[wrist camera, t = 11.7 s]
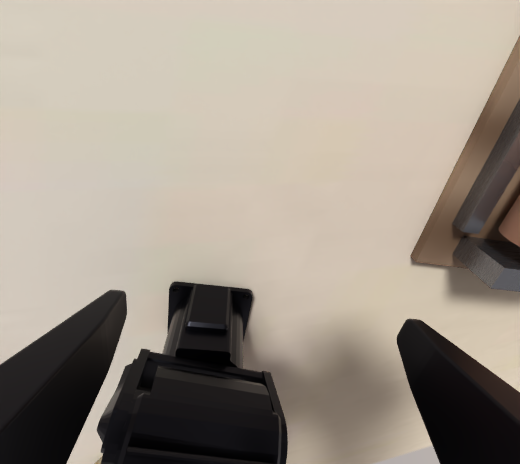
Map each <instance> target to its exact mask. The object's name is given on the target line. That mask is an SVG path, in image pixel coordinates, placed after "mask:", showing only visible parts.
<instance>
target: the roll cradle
mask: <svg viewBox="0 0 520 464" xmlns="http://www.w3.org/2000/svg"><path fill="white" fill-rule="evenodd" d="M519 195H520V37H519V39H518V41H517V43H516V45H515V47H514V49H513V51H512V53H511V55H510V57H509V59H508V61H507V63H506V65H505V67H504V69H503V71H502V73H501V75H500V77H499V79H498V81H497V83H496V85H495V87H494V89H493V91H492V93H491V95H490V97H489V99H488V101H487V103H486V105H485V107H484V109H483V111H482V113H481V115H480V117H479V120H478V122H477V124H476V126H475V128H474V130H473V132H472V134H471V136H470V138H469V140H468V142H467V144H466V146H465V148H464V150H463V152H462V154H461V156H460V158H459V160H458V162H457V164H456V166H455V168H454V170H453V172H452V174H451V176H450V178H449V180H448V182H447V184H446V186H445V188H444V190H443V192H442V194H441V196H440V198H439V200H438V202H437V204H436V206H435V208H434V210H433V212H432V214H431V216H430V218H429V220H428V222H427V224H426V226H425V228H424V230H423V232H422V234H421V236H420V238H419V240H418V242H417V244H416V246H415V248H414V250H413V252H412V254H411V257H412V258H413V259H414V260H415V262H420V263H428V264H436V265H444V266H453V267H461V268H469V269H470V270H471V271H472V272H473V273H474V274H475V275H476V276H478V277H479V278H480V279H481V280H482V281H483V282H484V283H485V284H486V285H488V286H489V287H490V288H492V289H501V290H509V291H518V292H520V247H519V246H517V245H516V244H514V243H512V242H511V241H510V240H508V239H507V238H505V237H504V236H503V235H502V234H501V233H500V231H499V226H500V225H501V223H502V222H503V220H504V218H505V217H506V215H507V214H508V212H509V211H510V209H511V207H512V206H513V204H514V203H515V201H516V199H517V198H518V196H519Z"/></svg>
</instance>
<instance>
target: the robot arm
mask: <svg viewBox="0 0 520 464" xmlns="http://www.w3.org/2000/svg"><path fill="white" fill-rule="evenodd" d="M175 288H178V289H175ZM244 295H248V296H244ZM251 302H252V291H251V290H249V289H243V288H234V287H224V286H214V285H204V284H194V283H185V282H173V283H172V284H171V286H170V289H169V310H168V335H167V339H166V342H165V346H164V350H163V353H162V354H160V353H154V352H150V350H147V349H141V351H140V354H139V356H138V358H137V359H134V360H133V363H132V364H129V365H127V366H125V369H124V371H123V374H122V376H121V379H120V382H119V384H118V387H117V389H116V391H115V393H114V395H113V397H112V398H111V400H110V402H109V404H108V406H107V407H106V409H105V411H104V413H103V415H102V416H101V419H100V421H99V424H98V427H97V432H98V434H99V436H100V438H101V440H102V442H103V444H102V448H101V453H103V457H102V460H101V464H286V458H287V445H288V440H287V427H286V421H285V417H284V414H283V411H282V408H281V405H280V401H279V398H278V395H277V392H276V389H275V386H274V382H273V379H272V376H271V373H270V372H266V371H262V372H258V371H253V370H247V369H243V340H244V335H245V330H246V326H247V321H248V316H249V311H250V307H251ZM126 315H127V304H126V293H125V292H124V291H120V290H109V291H108V292H106V293H105V294H103V295H102V296H100V297H99V298H97V299H96V300H94V301H93V302H91V303H90V304H89V305H87V306H86V307H84V308H83V309H81V310H80V311H78V312H77V313H75V314H74V315H72V316H71V317H69V318H68V319H67V320H65V321H64V322H62V323H61V324H59V325H58V326H56V327H55V328H53V329H52V330H50V331H49V332H47V333H46V334H45V335H43V336H42V337H40V338H39V339H37V340H36V341H34V342H33V343H31V344H30V345H28V346H27V347H25V348H24V349H23V350H21V351H20V352H18V353H17V354H15V355H14V356H12V357H11V358H9V359H8V360H6V361H5V362H3V363H2V364H1V365H0V464H66V463H67V461H68V459H69V456H70V454H71V452H72V450H73V448H74V445H75V443H76V441H77V439H78V437H79V435H80V432H81V430H82V428H83V426H84V424H85V421H86V419H87V417H88V415H89V413H90V410H91V408H92V406H93V404H94V402H95V400H96V397H97V395H98V393H99V391H100V389H101V386H102V384H103V382H104V380H105V378H106V375H107V373H108V371H109V368H110V365H111V362H112V360H113V357H114V353H115V350H116V347H117V344H118V341H119V338H120V335H121V332H122V329H123V326H124V323H125V320H126ZM397 345H398V348H399V351H400V355H401V358H402V362H403V365H404V369H405V372H406V375H407V379H408V382H409V385H410V388H411V391H412V394H413V396H414V399H415V401H416V404H417V406H418V409H419V412H420V414H421V417H422V419H423V422H424V424H425V427H426V429H427V432H428V434H429V437H430V439H431V442H432V444H433V447H434V449H435V452H436V454H437V457H438V459H439V462H440V464H520V392H518V391H517V390H516V389H514V388H513V387H512V386H510V385H509V384H507V383H506V382H505V381H503V380H502V379H501V378H499V377H498V376H496V375H495V374H494V373H492V372H491V371H490V370H488V369H487V368H486V367H484V366H483V365H481V364H480V363H479V362H477V361H476V360H475V359H473V358H472V357H471V356H469V355H468V354H466V353H465V352H464V351H462V350H461V349H460V348H458V347H457V346H455V345H454V344H453V343H451V342H450V341H449V340H447V339H446V338H445V337H443V336H442V335H440V334H439V333H438V332H436V331H435V330H434V329H432V328H431V327H429V326H428V325H427V324H425V323H424V322H423V321H421V320H417V319H407V320H406V321H405V323H404V324H403V326H402V328H401V330H400V332H399V333H398V335H397Z"/></svg>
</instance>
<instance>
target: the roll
mask: <svg viewBox="0 0 520 464" xmlns="http://www.w3.org/2000/svg"><path fill="white" fill-rule="evenodd" d="M499 231H500V233H501V234H502V235H503V236H504V237H505V238H507V239H508V240H510V241H511V242H512V243H514V244H516V245H517V246H519V247H520V195H519V196H518V198H517V199H516V201H515V203H514V204H513V206H512V207H511V209H510V211H509V212H508V214H507V215H506V217H505V218H504V220H503V222H502V223H501V225H500V226H499Z"/></svg>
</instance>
